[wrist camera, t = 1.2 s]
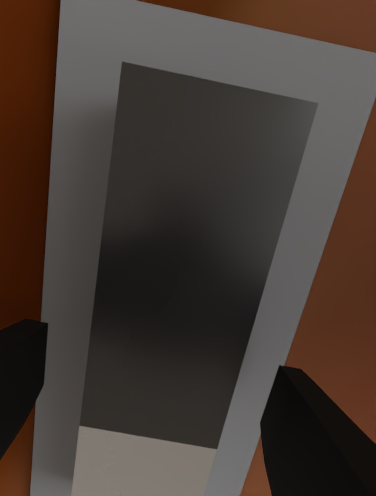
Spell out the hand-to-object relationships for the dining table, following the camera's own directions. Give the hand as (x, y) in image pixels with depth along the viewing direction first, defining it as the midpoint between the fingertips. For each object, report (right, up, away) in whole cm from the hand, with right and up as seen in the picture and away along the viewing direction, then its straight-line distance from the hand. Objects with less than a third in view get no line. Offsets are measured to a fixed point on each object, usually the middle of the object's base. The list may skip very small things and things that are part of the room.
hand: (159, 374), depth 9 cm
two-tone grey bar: (0, +1, +2) cm, 2 cm away
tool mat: (0, +1, +2) cm, 2 cm away
